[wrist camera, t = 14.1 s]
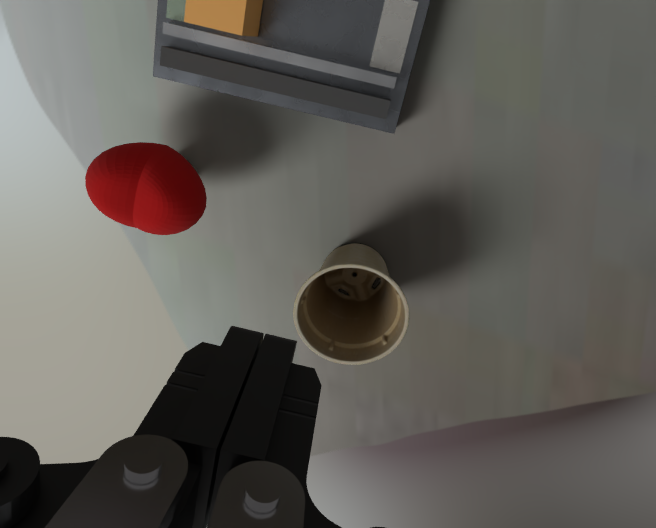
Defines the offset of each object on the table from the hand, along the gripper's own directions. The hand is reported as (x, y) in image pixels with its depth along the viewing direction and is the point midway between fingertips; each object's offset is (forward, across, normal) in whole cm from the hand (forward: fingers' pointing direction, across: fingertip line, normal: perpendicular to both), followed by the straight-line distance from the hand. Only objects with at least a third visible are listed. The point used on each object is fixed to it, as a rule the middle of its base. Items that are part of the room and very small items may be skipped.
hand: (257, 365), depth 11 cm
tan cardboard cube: (+32, +10, -8) cm, 35 cm away
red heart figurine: (+35, +14, +7) cm, 38 cm away
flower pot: (+35, -4, +13) cm, 38 cm away
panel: (+35, +6, -8) cm, 36 cm away
